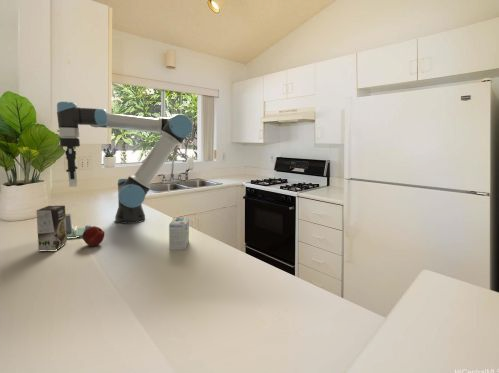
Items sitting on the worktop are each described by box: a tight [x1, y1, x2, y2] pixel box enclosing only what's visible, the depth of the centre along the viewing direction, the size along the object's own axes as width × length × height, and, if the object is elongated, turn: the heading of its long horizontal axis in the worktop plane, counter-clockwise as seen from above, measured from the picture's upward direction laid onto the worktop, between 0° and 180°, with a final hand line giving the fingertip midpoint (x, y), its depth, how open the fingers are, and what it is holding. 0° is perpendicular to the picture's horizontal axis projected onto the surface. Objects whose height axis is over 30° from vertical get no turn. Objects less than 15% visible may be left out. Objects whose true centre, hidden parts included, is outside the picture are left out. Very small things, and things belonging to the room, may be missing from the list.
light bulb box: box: [168, 217, 190, 251], centre depth 116 cm, size 11×7×11 cm, turn 5°
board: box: [66, 224, 92, 239], centre depth 126 cm, size 16×12×3 cm
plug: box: [65, 212, 73, 234], centre depth 123 cm, size 4×4×9 cm
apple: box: [81, 225, 106, 247], centre depth 112 cm, size 7×8×8 cm
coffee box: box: [35, 205, 68, 251], centre depth 108 cm, size 9×6×16 cm
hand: (73, 184), depth 128 cm, fingers open, 13 cm apart
